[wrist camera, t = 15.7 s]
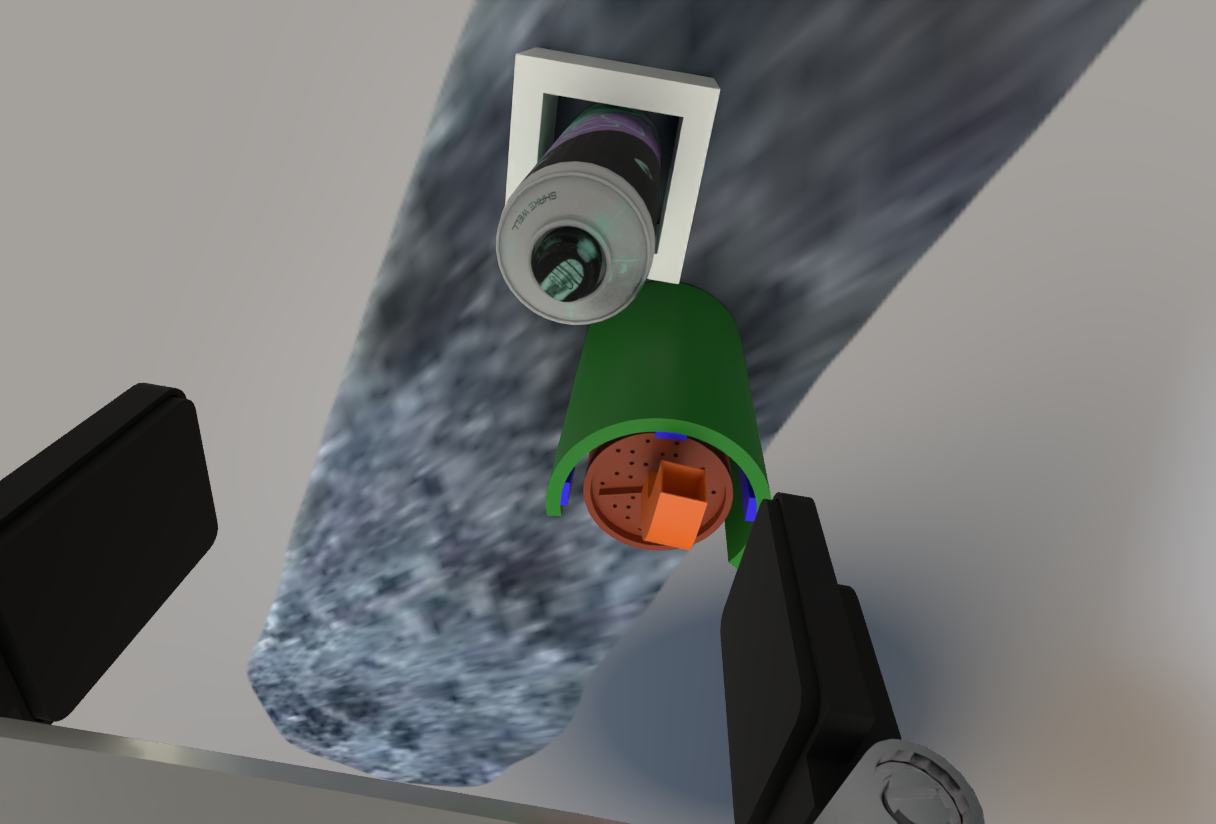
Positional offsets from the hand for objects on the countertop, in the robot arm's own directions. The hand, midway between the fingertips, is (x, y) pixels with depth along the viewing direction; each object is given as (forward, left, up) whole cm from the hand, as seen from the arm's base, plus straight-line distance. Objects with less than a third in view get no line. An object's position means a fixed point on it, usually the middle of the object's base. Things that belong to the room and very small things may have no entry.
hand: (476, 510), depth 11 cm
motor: (+11, +5, -32) cm, 34 cm away
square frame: (0, 0, -31) cm, 31 cm away
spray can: (0, 0, -32) cm, 32 cm away
